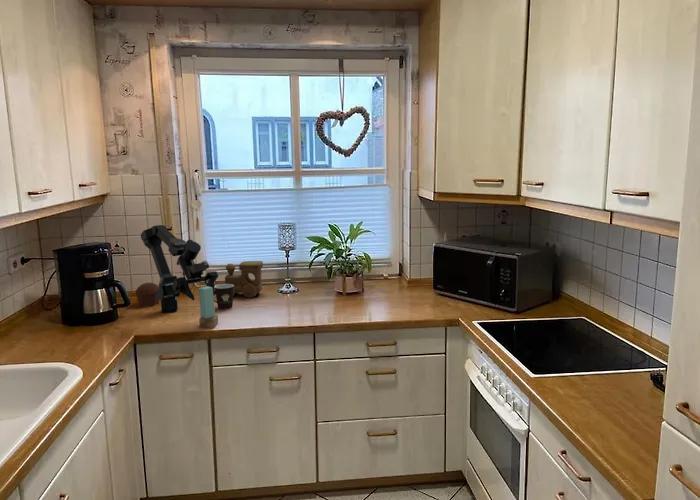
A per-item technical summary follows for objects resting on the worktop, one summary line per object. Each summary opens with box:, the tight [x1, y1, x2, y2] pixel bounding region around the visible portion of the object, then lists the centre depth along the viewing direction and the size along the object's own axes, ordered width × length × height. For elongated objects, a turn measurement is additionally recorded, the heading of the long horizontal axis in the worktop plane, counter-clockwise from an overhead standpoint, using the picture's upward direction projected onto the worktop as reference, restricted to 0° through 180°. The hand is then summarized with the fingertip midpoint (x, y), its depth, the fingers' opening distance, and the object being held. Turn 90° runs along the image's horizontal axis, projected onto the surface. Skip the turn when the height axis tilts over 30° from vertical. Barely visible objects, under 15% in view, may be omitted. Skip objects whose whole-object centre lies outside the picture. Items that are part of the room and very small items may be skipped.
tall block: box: [198, 285, 216, 319], centre depth 215 cm, size 4×4×12 cm
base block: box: [198, 314, 219, 329], centre depth 216 cm, size 6×6×4 cm
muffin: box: [134, 282, 160, 307], centre depth 249 cm, size 12×11×10 cm
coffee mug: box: [214, 283, 234, 310], centre depth 242 cm, size 12×9×10 cm
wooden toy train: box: [224, 260, 264, 299], centre depth 262 cm, size 20×11×17 cm, turn 87°
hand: (204, 297), depth 216 cm, fingers open, 9 cm apart
